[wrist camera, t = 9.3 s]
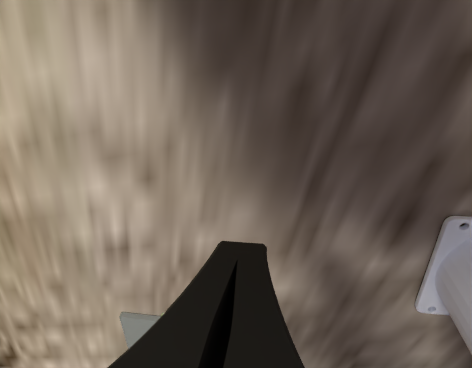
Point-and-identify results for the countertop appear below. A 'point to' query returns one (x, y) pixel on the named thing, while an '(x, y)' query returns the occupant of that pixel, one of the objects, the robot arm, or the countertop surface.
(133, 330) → the mat
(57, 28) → the countertop surface
